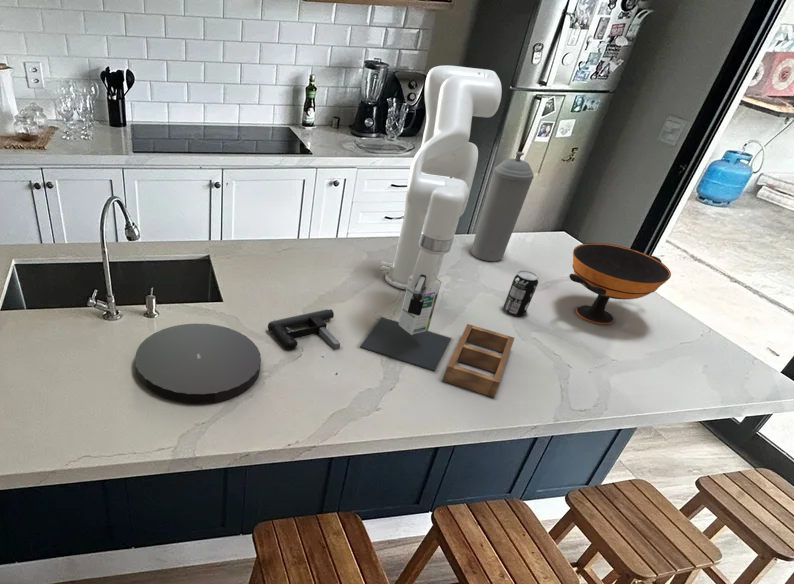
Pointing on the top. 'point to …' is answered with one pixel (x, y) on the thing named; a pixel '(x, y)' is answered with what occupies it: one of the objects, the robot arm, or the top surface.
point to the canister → (502, 208)
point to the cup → (614, 276)
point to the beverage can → (521, 293)
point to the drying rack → (479, 360)
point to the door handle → (310, 319)
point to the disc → (197, 363)
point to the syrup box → (422, 321)
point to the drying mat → (406, 344)
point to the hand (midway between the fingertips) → (418, 306)
